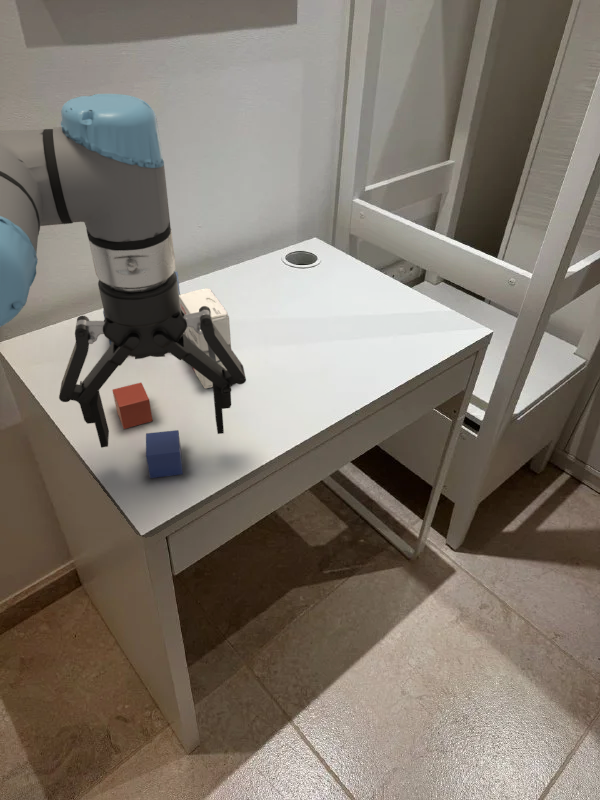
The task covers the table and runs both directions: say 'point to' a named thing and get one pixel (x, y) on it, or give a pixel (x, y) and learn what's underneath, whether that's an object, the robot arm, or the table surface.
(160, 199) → the robot arm
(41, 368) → the table surface
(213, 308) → the ink box
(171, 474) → the blue block
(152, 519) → the table surface
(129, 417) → the terracotta block
